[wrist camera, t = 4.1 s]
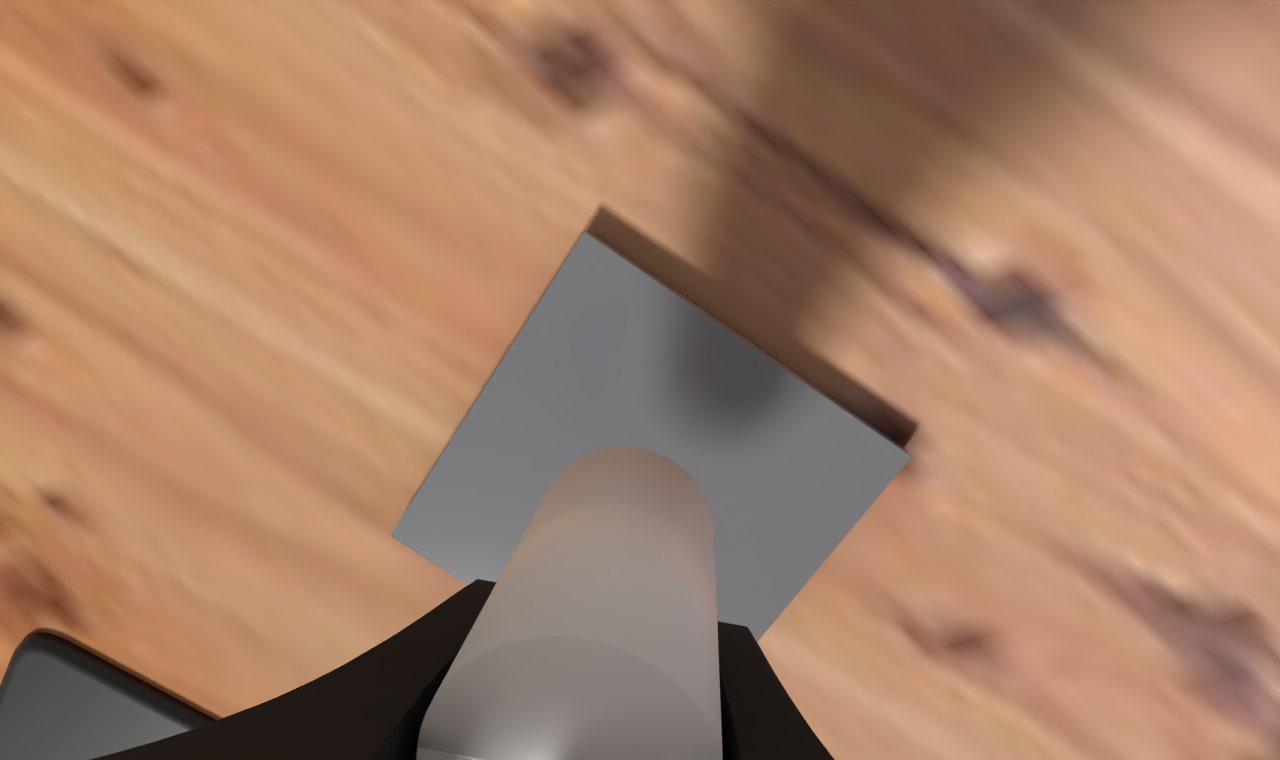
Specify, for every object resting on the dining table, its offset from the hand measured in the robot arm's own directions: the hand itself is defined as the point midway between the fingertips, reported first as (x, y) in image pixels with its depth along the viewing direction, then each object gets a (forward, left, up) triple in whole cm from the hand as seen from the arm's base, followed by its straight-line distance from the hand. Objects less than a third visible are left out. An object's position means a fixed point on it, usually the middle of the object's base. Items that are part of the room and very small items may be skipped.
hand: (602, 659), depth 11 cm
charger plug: (0, 0, -2) cm, 2 cm away
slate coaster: (0, 0, -7) cm, 7 cm away
